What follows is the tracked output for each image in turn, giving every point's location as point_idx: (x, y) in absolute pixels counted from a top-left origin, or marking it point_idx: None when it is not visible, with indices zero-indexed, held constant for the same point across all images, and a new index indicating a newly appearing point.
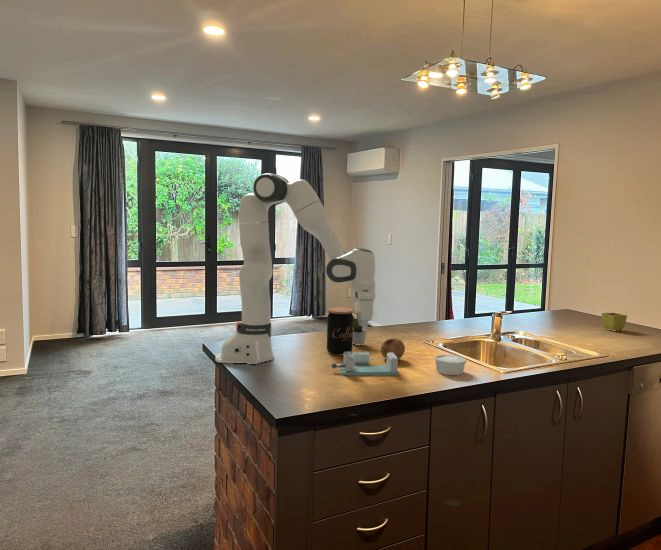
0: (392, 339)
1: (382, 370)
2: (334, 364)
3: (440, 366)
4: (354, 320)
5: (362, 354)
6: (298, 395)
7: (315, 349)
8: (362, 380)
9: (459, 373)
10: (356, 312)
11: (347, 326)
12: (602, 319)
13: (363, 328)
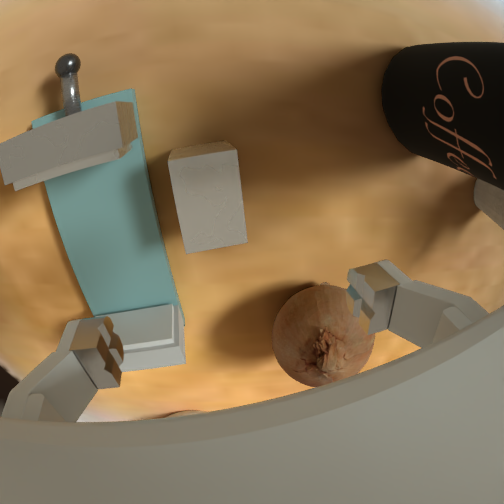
0: (325, 372)
1: (101, 287)
2: (56, 68)
3: None
4: None
5: (178, 215)
6: None
7: (438, 15)
8: (7, 210)
9: None
10: (471, 337)
11: (491, 154)
12: None
13: (65, 344)
